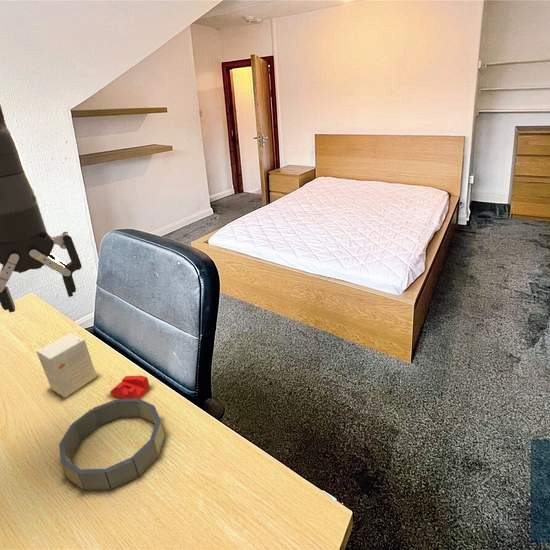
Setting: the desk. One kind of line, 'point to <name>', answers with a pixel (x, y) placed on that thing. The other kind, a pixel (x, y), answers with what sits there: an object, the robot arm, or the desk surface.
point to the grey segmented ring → (119, 471)
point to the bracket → (131, 387)
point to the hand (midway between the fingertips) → (42, 302)
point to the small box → (67, 364)
